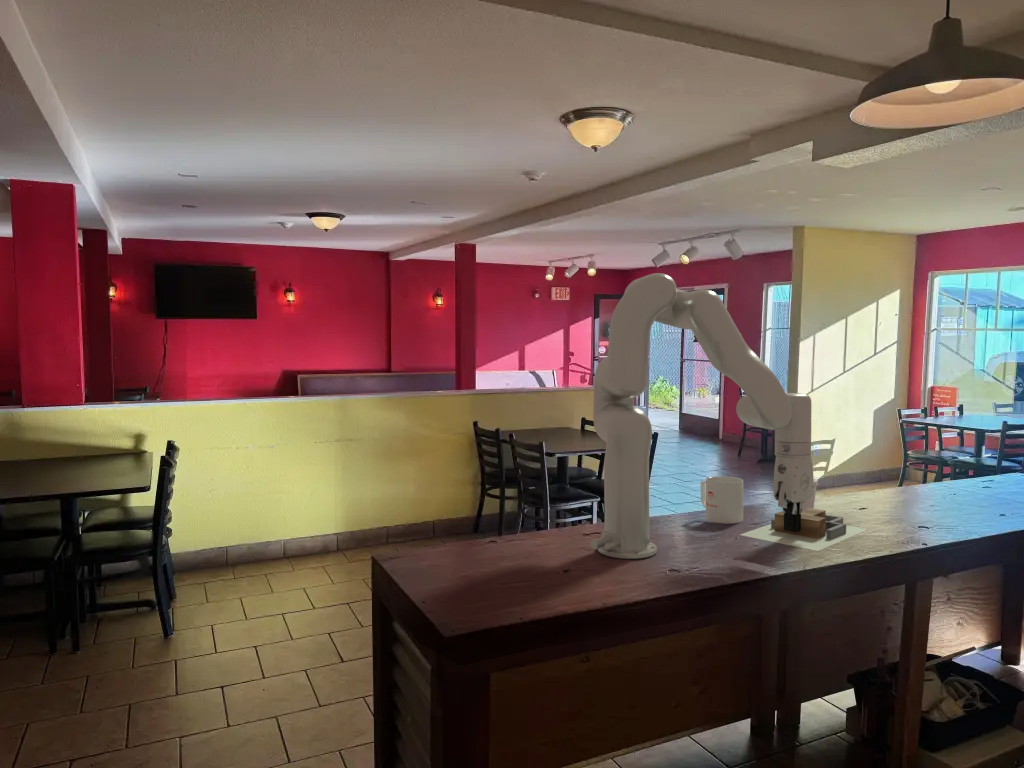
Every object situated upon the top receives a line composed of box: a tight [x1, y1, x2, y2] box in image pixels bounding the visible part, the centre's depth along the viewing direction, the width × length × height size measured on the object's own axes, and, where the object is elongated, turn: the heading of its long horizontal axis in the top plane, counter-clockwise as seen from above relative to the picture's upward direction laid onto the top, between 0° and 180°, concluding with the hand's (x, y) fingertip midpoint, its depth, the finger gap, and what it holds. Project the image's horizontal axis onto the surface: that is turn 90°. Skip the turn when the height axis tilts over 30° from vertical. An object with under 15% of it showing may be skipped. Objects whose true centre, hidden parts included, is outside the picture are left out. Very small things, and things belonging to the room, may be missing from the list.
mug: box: [700, 475, 744, 525], centre depth 176 cm, size 12×9×11 cm
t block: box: [774, 508, 827, 539], centre depth 163 cm, size 11×10×4 cm
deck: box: [739, 514, 869, 552], centre depth 162 cm, size 25×18×3 cm
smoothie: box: [802, 478, 819, 510], centre depth 180 cm, size 6×6×14 cm
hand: (792, 530), depth 158 cm, fingers closed
